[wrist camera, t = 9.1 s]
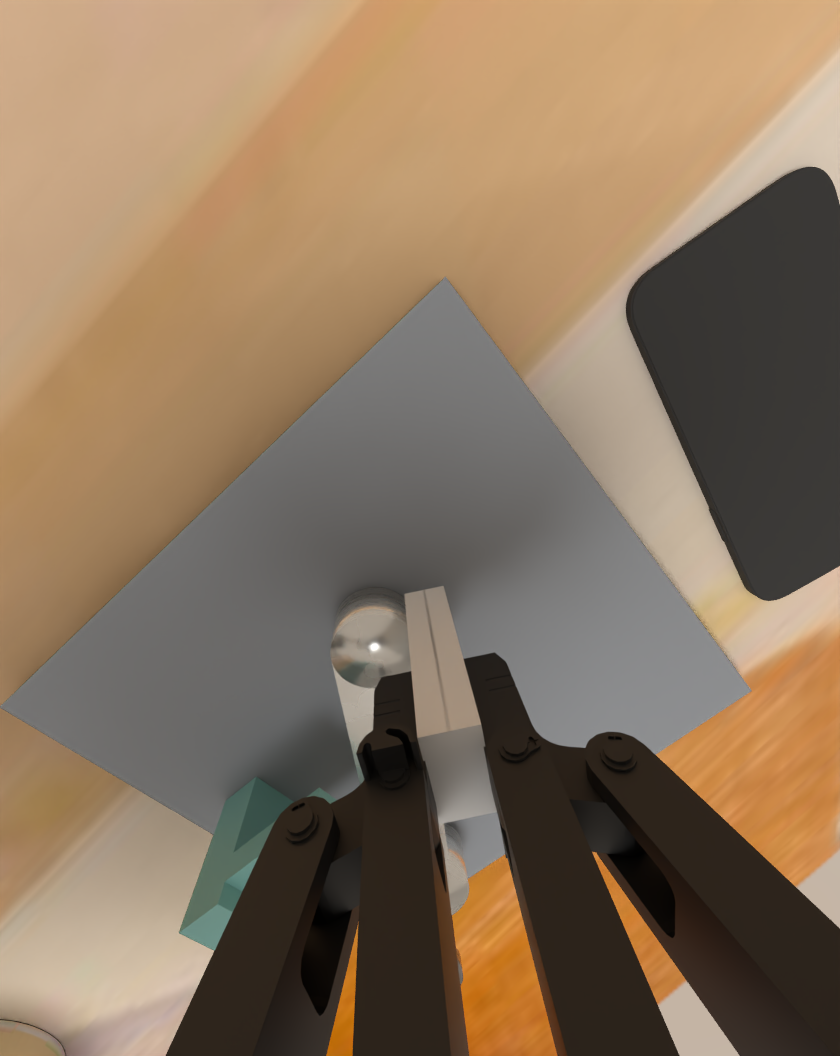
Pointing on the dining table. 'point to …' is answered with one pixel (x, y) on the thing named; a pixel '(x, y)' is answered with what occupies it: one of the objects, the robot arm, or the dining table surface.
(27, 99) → the dining table surface
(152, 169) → the dining table surface
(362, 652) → the link
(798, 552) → the phone
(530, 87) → the dining table surface
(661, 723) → the board
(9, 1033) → the coffee cup
